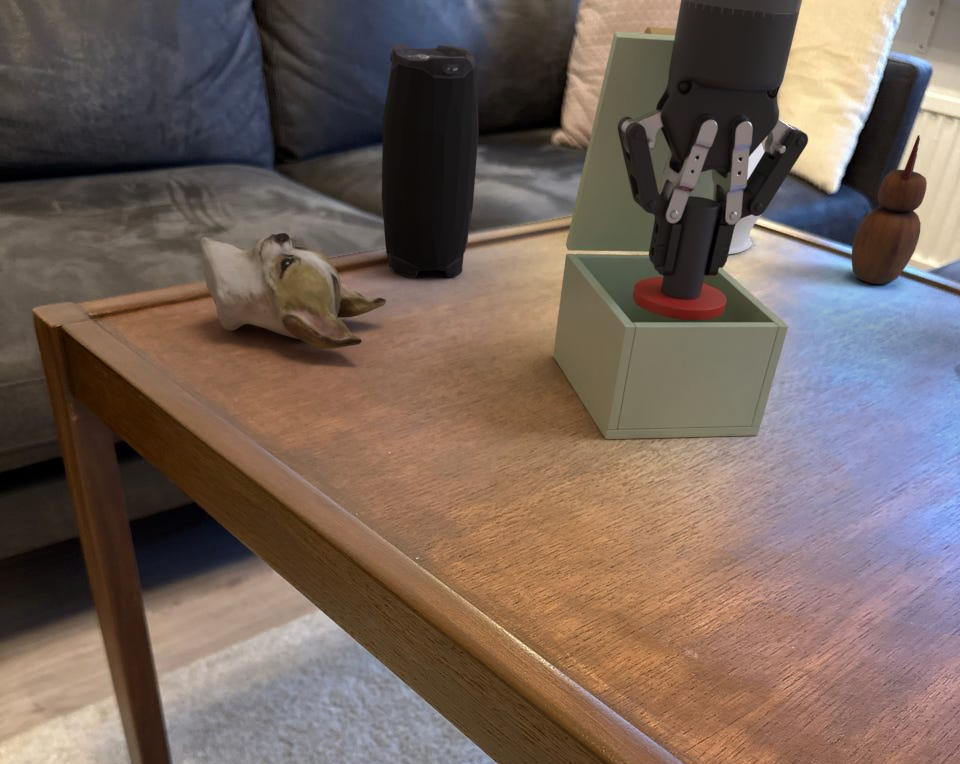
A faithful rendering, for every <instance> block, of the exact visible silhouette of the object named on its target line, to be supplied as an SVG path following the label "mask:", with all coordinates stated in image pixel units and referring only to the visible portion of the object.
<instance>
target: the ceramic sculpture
mask: <svg viewBox="0 0 960 764" xmlns="http://www.w3.org/2000/svg"><path fill="white" fill-rule="evenodd" d="M200 250H201V256H202V264H203V265H202V266H203V275H204V278H205V285H206V288H207V290H208V292H209V294H210V296H211V298H212V300H213V302H214V305H215V308H216V309H215V311H216V314H217V318H218V321H219V322H220V324H221V326H222V327H223V328H224V329H225V330H226V331H231V332H233V331H236V330H237V329H239V328H240V327H243V326H245V325H252V326H255V327H259V328H263V329H266V330H268V331H271V332H274V333H276V334H279V335H282V336H285V337H288V338H292V339H296V340H299V341H300V340H301V341H302V342H304V343H306V344H307V345H309V346H310V347H313V348H315V349H322V350H331V349H333V350H334V349H340V348H346V347H353V346H358V345H360V344H362V342H363V339H361V338H360V337H358V336H356V335H355V334H354V333H353V332H351V330H350V329H349V327H347V325H346V323H345V321H343V320H342V319H340V318H354V317H357V316H360V315H363V314H366V313H369V312H372V311H374V310H377V309H379V308H381V307H383V306H385V305H386V303H387V299H386V298H383V297H379V296H378V297H372V298H368V297H367V298H366V297H365V296H363V295H362V294H361V293H359V292H356V291H352V289H351V288H350V287H349V286H348V285H346V284H345V283H342V282H341V278H340V275H339V272H338V270H337V269H336V267H335V265H334V264H333V263H332V262H331V261H330V259H329V258H327V256H325V254H324V253H322V252H320V251H318V250H315V249H313V250H312V249H308V248H307V247H303V246H293V241H292V240H291V237H290V235H289V234H288V233H286V232H281V233H272V234H270V235H269V236H268V237H264V238H261V239H260V240H259V241H258V242H257V243H256V245H255V246H254V248H252V249H251V250H243V249H241V248H238V247H236V246H234V245H233V244H231V243H226V242H223V241H218V240H214V239H212V238H210V237H206V236H203V237H202V238H201V239H200Z"/></svg>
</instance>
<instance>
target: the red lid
mask: <svg viewBox="0 0 960 764" xmlns="http://www.w3.org/2000/svg"><path fill="white" fill-rule="evenodd" d="M719 208H720V204H719V203H718V202H716V201H714V200H711V199H708V198H703V197H695V196H689V197H688V200H687V203H686V206H685V208H684V211H683V214H682V217H681V219H680V220H679V221H678V222H679V223H681V224H682V227H681V232H680V237H679V242H678V247H677V252H676V257H675V262H674V267H673V272H672V274H671V275H663V277H654V278H647V279H643V280H641V281H639V282H637V283H636V284H635V286H634V292H633V300H634V302H635V303H636V304H637V305H638V306H640V307H641V308H643V309H645V310H647V311H649V312H652V313H654V314H657V315H661V316H665V317H669V318H674V319H682V320H706V319H712V318H715V317H718V316H720V315H721V314H722V313H723V312H724V309H725V305H726V301H727V300H726V296H725V295H724V294H723V293H722V292H721V291H719V290H718V289H716V288H714V287H712V286H710V285H707V284H704V283H703V281H704V276H705V271H706V267H707V262H708V258H709V253H710V249H711V244H712V239H713V235H714V230H715V226H716V221H717V217H718V212H719Z"/></svg>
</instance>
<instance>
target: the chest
mask: <svg viewBox="0 0 960 764" xmlns="http://www.w3.org/2000/svg"><path fill="white" fill-rule="evenodd" d="M654 277H663V275H660V274H659V273H658V272H657V271H656V270H655V268H654V264H653V263H652V262H651V261H650V258H649V254H619V253H617V254H616V253H615V254H614V253H613V254H611V253H610V254H609V253H566V254H565V259H564V267H563V275H562V284H561V289H560V290H561V291H560V299H559V305H558V306H559V307H558V312H557V313H558V315H557V321H556V322H557V323H556V331H555V336H554V337H555V338H554V345H553V346H554V347H553V351H552V352H553V353H552V357H553V359H554V360H555V361H556V363H557V365H558V366H559V368H560V370H561V371H562V373H563V374H564V376H565V378H566V379H567V381H568V382H569V384H570V385H571V387H572V389H573V390H574V392H575V394H576V395H577V397H578V398H579V400H580V401H581V403H582V404H583V405H584V408H585V409H586V410H587V412H588V414H589V415H590V417H591V418H592V420H593V422H594V424H595V425H596V426H597V428H598V430H599V431H600V433H601V435H602V436H603V438H604V439H605V440H632V439H633V440H635V439H672V438H673V439H675V438H676V439H677V438H708V437H709V438H710V437H711V438H712V437H713V438H714V437H745V436H747V437H749V436H758V435H759V433H760V431H761V426H762V422H763V419H764V416H765V415H764V414H765V411H766V408H767V404H768V401H769V396H770V393H771V390H772V386H773V383H774V379H775V376H776V372H777V369H778V366H779V362H780V358H781V355H782V350H783V348H784V343H785V339H786V336H787V332H788V329H789V325H788V324H787V323H785V322H784V321H783V320H782V319H781V318H780V317H778V316H777V315H776V314H775V313H774V312H773V311H772V310H771V309H769V308H768V306H766V305H765V304H764V303H762V301H761V300H759V298H757V297H756V296H755V295H753V294H752V293H751V292H750V291H749V290H748V289H747V288H746V287H745V286H744V285H743V284H742V283H740V282H739V281H738V280H736V279H735V278H734V277H733V276H732V275H731V274H730V273H729V272H728V271H726V270H725V269H724V267H723V268H719V270H718V273H717V275H716V276H706V275H705V276H704V281H703V283H704V284H707V285H710V286H712V287H714V288H716V289H718V290H719V291H721V292H722V293H723V294H724V295H725V296H726V300H727V301H726V305H725V309H724V312H723V313H722V314H721V315H720V316H718V317H715V318H712V319H706V320H682V319H674V318H669V317H665V316H661V315H657V314H654V313H652V312H649V311H647V310H645V309H643V308H641V307H640V306H638V305H637V304H636V303H635V302H634V300H633V292H634V286H635V284H636V283H637V282H639V281H641V280H643V279H647V278H654Z"/></svg>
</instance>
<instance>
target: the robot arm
mask: <svg viewBox="0 0 960 764" xmlns="http://www.w3.org/2000/svg"><path fill="white" fill-rule="evenodd" d="M802 3H803V0H680V4H679V9H678V16H677V21H676V27H675V29H676V32H675V38H674V44H673V50H672V56H671V61H670V67H669V77H668V84H667V87H666V90H665V92H664V94H663V95H662V97H661V98H660V100H659V102H658V104H657V107H656V110H654V111H652V112H650V113H648V114H645V115H643V116H641V117H638V118H636V119H632V118H630V117H624V118H622V119H621V120H620V121H619V123H618V133H619V138H620V142H621V147H622V151H623V155H624V160H625V164H626V169H627V173H628V178H629V182H630V186H631V191H632V195H633V199H634V201H635V202H636V203H637V204H638V205H639V206H641V207H642V208H643V209H644V210H645V211H646V212H648V213H652V214H654V216H655V221H654V227H653V232H652V238H651V243H650V249H649V252H648V255H649V258H650V261H651V262H652V263H653V264H654V268H655V270H656V271H657V272H658V273H659V274H660V275H671V274H672V272H673V267H674V262H675V257H676V252H677V247H678V242H679V237H680V232H681V227H682V224H681V223H679V222H678V221H679V220H680V219H681V217H682V214H683V211H684V208H685V206H686V203H687V200H688V197H689V194H690V192H691V191H693V190H694V189H695V187H696V184H697V181H698V178H699V176H700V173H701V172H704V171H708V170H712V179H713V182H714V193H713V200H714V201H716V202H718V203H719V204H720V208H719V212H718V217H717V221H716V226H715V230H714V235H713V239H712V244H711V249H710V253H709V258H708V262H707V267H706V271H705V275H706V276H716V275H717V273H718V270H719V268H723V269H724V267H725V265H726V263H727V262H728V258H729V254H728V252H729V249H730V245H731V241H732V236H733V232H734V228H735V225H736V223H737V222H738V221H739V220H740V219H742V218H744V217H747V216H750V215H754V216H760V215H761V214H762V215H763V214H764V213H765V212H766V210H767V209H768V207H769V205H770V203H771V202H772V200H773V199H774V197H775V196H776V194H777V192H778V191H779V190H780V188H781V186H782V185H783V183H784V181H785V180H786V178H787V176H788V175H789V174H790V172H791V170H792V169H793V168H794V166H795V164H796V162H797V161H798V160H799V158H800V156H801V155H802V153H803V151H804V150H805V149H806V147H807V145H808V142H809V136H808V134H807V133H806V132H804V131H802V130H801V129H799V128H797V127H795V126H793V125H790V124H788V123H786V122H785V121H783V120H782V119H780V108H779V104H778V103H779V102H778V95H779V90H780V88H781V86H782V84H783V82H784V78H785V74H786V71H787V70H786V69H787V65H788V63H789V57H790V53H791V49H792V45H793V41H794V36H795V33H796V29H797V24H798V20H799V15H800V10H801V7H802ZM660 128H661V130H662V132H663V135H664V137H665V139H666V142H667V144H668V146H669V149H670V151H669V154H668V157H667V160H666V163H665V166H664V169H663V181H662V184H661V187H660V190H659V193H658V188H657V183H656V178H655V174H654V169H653V164H652V159H651V154H650V151H651V150H652V149H653V148H654V147H655V145H656V135H657V132H658V131H659V129H660ZM763 142H764V154H763V156H762V157H761V159H760V161H759V162H758V164H757V165H756V167H755V169H754V170H753V172H752V173H751V175H750V177H749V178H748V180H747V175H748V162H749V157H750V155H751V154H752V153H753V152H754V151H755V150H756V148H757V147H758V146H759V145H760V144H761V143H762V144H763ZM762 215H761V216H762ZM761 216H760V217H761Z"/></svg>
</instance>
